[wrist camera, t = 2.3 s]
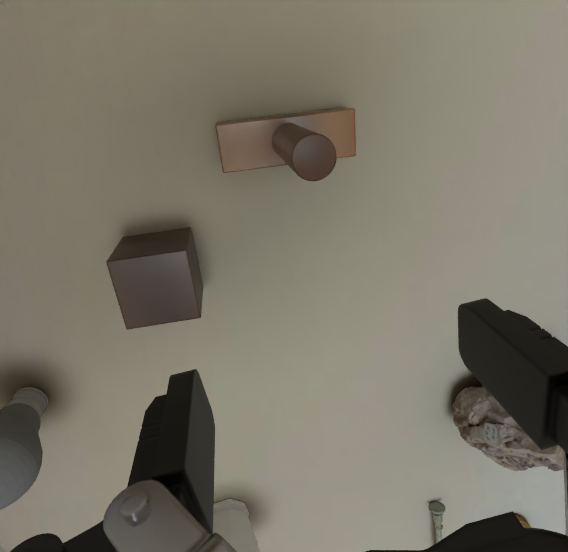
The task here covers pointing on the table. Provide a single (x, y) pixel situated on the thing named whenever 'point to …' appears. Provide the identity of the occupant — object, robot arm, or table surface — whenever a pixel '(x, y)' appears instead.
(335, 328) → the table surface
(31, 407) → the light bulb
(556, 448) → the rock
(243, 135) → the wooden rubber stamp
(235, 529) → the cup
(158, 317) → the block
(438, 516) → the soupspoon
